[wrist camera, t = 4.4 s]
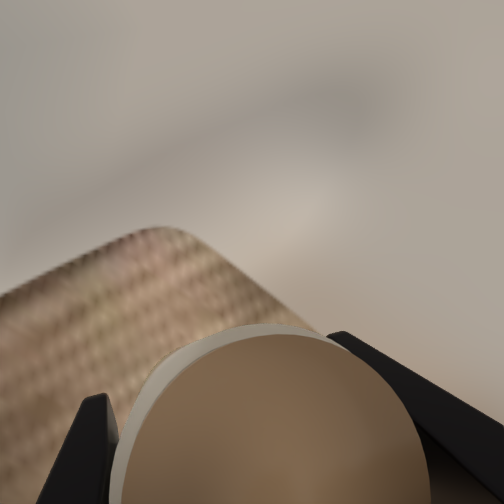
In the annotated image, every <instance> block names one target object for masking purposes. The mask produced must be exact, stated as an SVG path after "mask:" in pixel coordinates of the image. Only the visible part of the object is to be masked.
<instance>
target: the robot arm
mask: <svg viewBox="0 0 504 504" xmlns="http://www.w3.org/2000/svg"><path fill="white" fill-rule="evenodd" d="M326 337H327V338H329V339H331V340H333V341H334V342H336V343H338V344H339V345H341V346H342V347H344V348H345V349H347V350H348V351H349V352H351V353H352V354H353V355H355V356H356V357H358V358H360V359H361V360H363V361H364V362H365V363H366V364H368V365H369V366H370V367H371V368H372V369H374V370H375V371H376V372H377V373H378V374H379V375H380V376H381V377H382V378H383V379H384V380H385V381H386V382H387V383H388V384H389V385H390V387H391V388H392V389H393V391H394V392H395V393H396V395H397V396H398V397H399V399H400V400H401V402H402V403H403V405H404V407H405V408H406V410H407V412H408V414H409V416H410V417H411V419H412V421H413V424H414V426H415V428H416V431H417V433H418V435H419V438H420V441H421V444H422V448H423V451H424V454H425V458H426V463H427V469H428V474H429V482H430V496H431V504H504V426H503V425H502V424H500V423H499V422H497V421H495V420H494V419H492V418H490V417H489V416H487V415H485V414H484V413H482V412H480V411H479V410H477V409H475V408H473V407H472V406H470V405H469V404H467V403H465V402H464V401H462V400H460V399H459V398H457V397H455V396H453V395H452V394H450V393H449V392H447V391H445V390H443V389H442V388H440V387H438V386H437V385H435V384H433V383H432V382H430V381H428V380H427V379H425V378H423V377H422V376H420V375H418V374H417V373H415V372H413V371H412V370H410V369H408V368H407V367H405V366H403V365H401V364H400V363H398V362H397V361H395V360H393V359H392V358H390V357H388V356H387V355H385V354H383V353H381V352H379V351H378V350H376V349H375V348H373V347H372V346H370V345H368V344H367V343H365V342H363V341H361V340H360V339H358V338H356V337H355V336H353V335H351V334H349V333H348V332H345V331H340V332H336V333H332V334H329V335H327V336H326ZM118 442H119V435H118V428H117V423H116V419H115V416H114V413H113V409H112V406H111V403H110V400H109V397H108V395H107V394H106V393H101V394H97V395H93V396H90V397H87V398H85V399H84V400H83V401H82V403H81V405H80V408H79V410H78V412H77V414H76V416H75V419H74V421H73V423H72V425H71V427H70V430H69V432H68V434H67V436H66V438H65V440H64V443H63V445H62V447H61V449H60V451H59V454H58V456H57V458H56V460H55V462H54V465H53V467H52V469H51V471H50V473H49V475H48V478H47V480H46V482H45V484H44V486H43V489H42V491H41V493H40V495H39V497H38V499H37V502H36V504H109V491H110V478H111V471H112V466H113V461H114V456H115V451H116V448H117V445H118Z"/></svg>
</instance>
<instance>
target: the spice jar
mask: <svg viewBox="0 0 504 504" xmlns="http://www.w3.org/2000/svg"><path fill="white" fill-rule="evenodd" d="M109 504H431V496H430V482H429V474H428V469H427V463H426V458H425V454H424V451H423V448H422V444H421V441H420V438H419V435H418V433H417V431H416V428H415V426H414V424H413V421H412V419H411V417H410V416H409V414H408V412H407V410H406V408H405V407H404V405H403V403H402V402H401V400H400V399H399V397H398V396H397V395H396V393H395V392H394V391H393V389H392V388H391V387H390V385H389V384H388V383H387V382H386V381H385V380H384V379H383V378H382V377H381V376H380V375H379V374H378V373H377V372H376V371H375V370H374V369H372V368H371V367H370V366H369V365H368V364H366V363H365V362H364V361H363V360H361V359H360V358H358V357H356V356H355V355H353V354H352V353H351V352H349V351H348V350H347V349H345V348H344V347H342V346H341V345H339V344H338V343H336V342H334V341H333V340H331V339H329V338H327V337H325V336H322V335H320V334H318V333H316V332H313V331H310V330H307V329H303V328H300V327H296V326H290V325H284V324H267V323H261V324H251V325H243V326H239V327H235V328H231V329H227V330H224V331H221V332H218V333H216V334H213V335H211V336H208V337H205V338H203V339H200V340H198V341H195V342H192V343H190V344H187V345H185V346H182V347H179V348H177V349H175V350H173V351H172V352H170V353H169V354H167V355H166V356H164V357H163V358H162V359H161V360H160V361H159V362H158V363H157V364H156V365H155V366H154V367H153V369H152V370H151V371H150V373H149V375H148V376H147V378H146V380H145V382H144V384H143V386H142V388H141V390H140V393H139V395H138V397H137V399H136V401H135V404H134V406H133V408H132V410H131V412H130V415H129V417H128V419H127V421H126V423H125V426H124V428H123V430H122V433H121V436H120V439H119V442H118V445H117V448H116V451H115V456H114V461H113V466H112V471H111V478H110V491H109Z"/></svg>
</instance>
